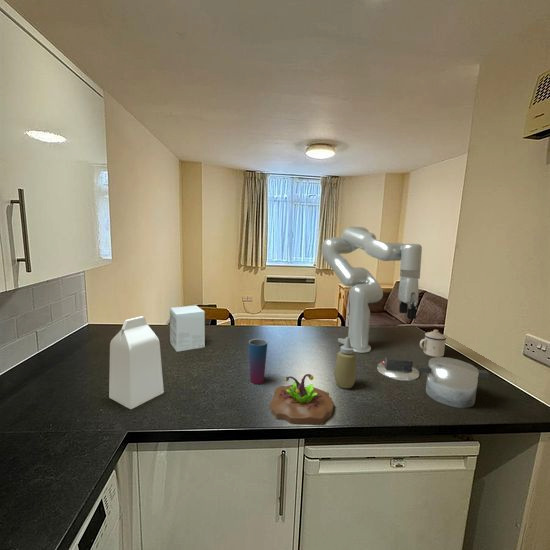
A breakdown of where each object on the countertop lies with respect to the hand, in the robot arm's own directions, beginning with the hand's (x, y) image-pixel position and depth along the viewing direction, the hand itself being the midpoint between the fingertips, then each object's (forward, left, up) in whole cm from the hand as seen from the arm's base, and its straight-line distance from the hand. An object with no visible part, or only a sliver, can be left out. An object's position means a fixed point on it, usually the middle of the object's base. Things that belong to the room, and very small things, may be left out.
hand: (407, 315), depth 127 cm
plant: (-41, -37, -23) cm, 60 cm away
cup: (-58, -23, -23) cm, 66 cm away
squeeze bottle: (-26, -20, -23) cm, 40 cm away
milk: (-95, -40, -23) cm, 106 cm away
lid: (-3, -4, -23) cm, 23 cm away
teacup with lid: (+18, +19, -23) cm, 35 cm away
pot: (+10, -21, -22) cm, 33 cm away
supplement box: (-97, +6, -23) cm, 100 cm away
